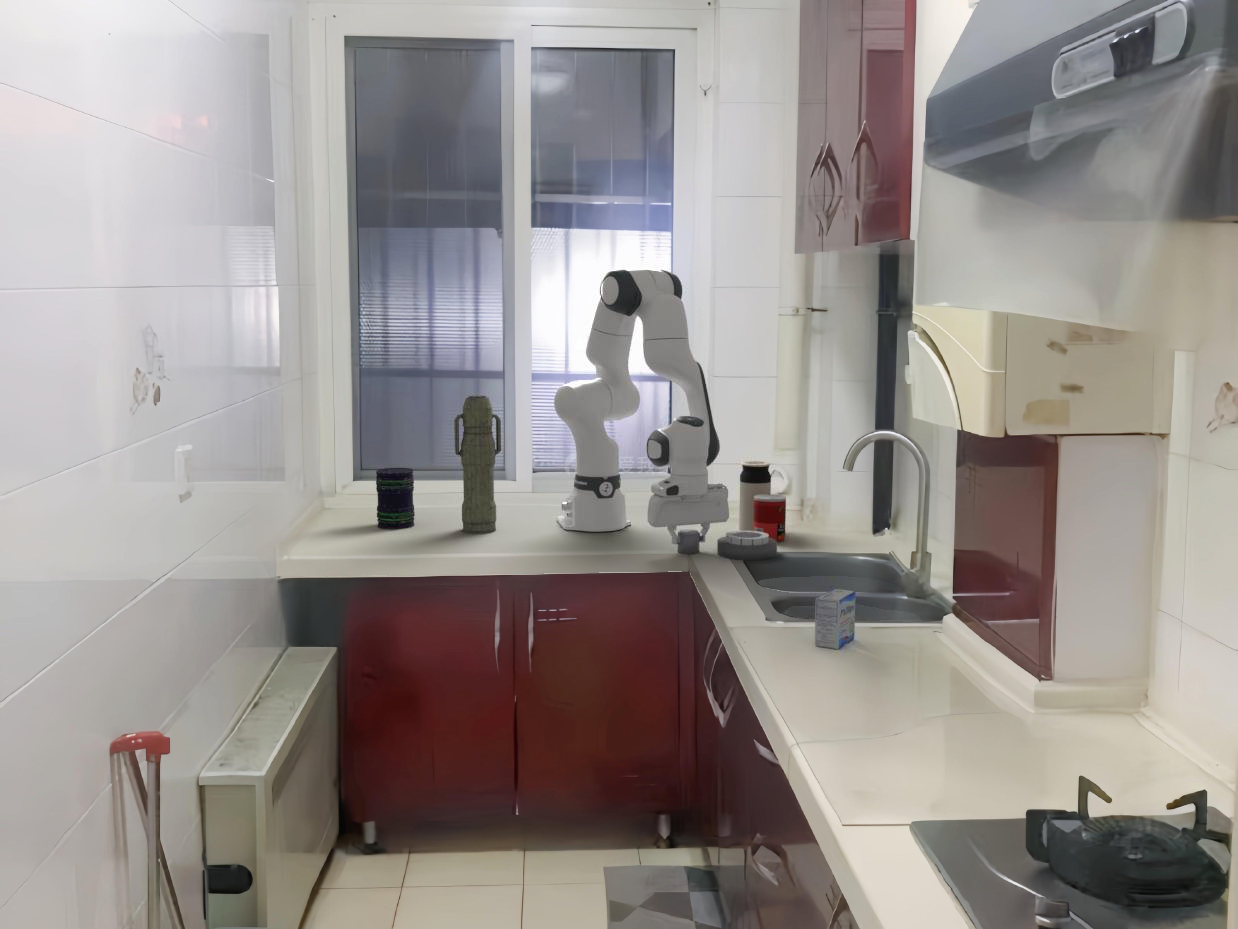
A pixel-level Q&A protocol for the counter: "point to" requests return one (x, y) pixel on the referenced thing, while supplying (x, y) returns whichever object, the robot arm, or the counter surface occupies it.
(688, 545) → the cap
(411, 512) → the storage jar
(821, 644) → the medicine box
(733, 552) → the grey round peg base
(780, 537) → the canned food
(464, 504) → the thermos
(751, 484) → the travel mug
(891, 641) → the counter surface
